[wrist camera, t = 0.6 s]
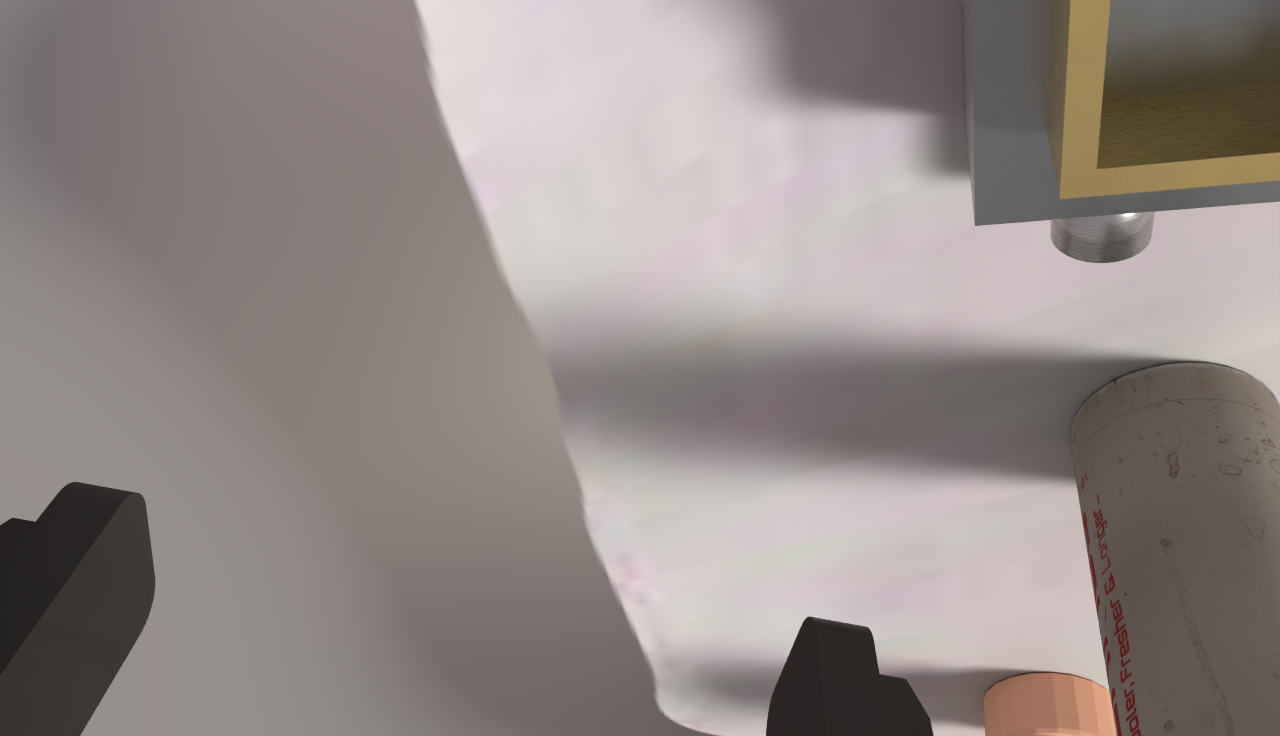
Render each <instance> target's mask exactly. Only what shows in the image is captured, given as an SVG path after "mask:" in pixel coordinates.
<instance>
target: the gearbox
mask: <svg viewBox="0 0 1280 736" xmlns="http://www.w3.org/2000/svg"><path fill="white" fill-rule="evenodd" d="M963 38H964V87H965V122H966V133H967V144H968V155H969V166H970V177H971V188H972V199H973V210H974V221H975V226H979V225H991V224H1004V223H1016V222H1029V221H1041V220H1051V240H1052V242H1053V244H1054V245H1055V247H1056V248H1057V249H1058V250H1059V251H1061V252H1062V253H1064V254H1065V255H1067V256H1069V257H1072V258H1074V259H1077V260H1081V261H1086V262H1093V263H1109V262H1116V261H1121V260H1125V259H1128V258H1131V257H1133V256H1135V255H1137V254H1139V253H1140V252H1142V251H1143V250H1144V249H1145V248H1146V247H1147V246H1148V244H1149V243H1150V241H1151V238H1152V230H1153V223H1154V215H1155V211H1166V210H1178V209H1191V208H1203V207H1216V206H1228V205H1241V204H1253V203H1266V202H1278V201H1280V0H963Z"/></svg>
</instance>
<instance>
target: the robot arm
mask: <svg viewBox="0 0 1280 736" xmlns="http://www.w3.org/2000/svg"><path fill="white" fill-rule="evenodd" d="M154 591H155V575H154V567H153V558H152V550H151V542H150V534H149V526H148V519H147V510H146V504H145V500H144V498H143V496H142V495H141V494H139V493H135V492H129V491H123V490H118V489H113V488H107V487H102V486H96V485H90V484H85V483H79V482H72V483H69V484H68V485H66V486H65V487H64V488H62V490H61V491H60V492H59V493H58V494H57V495H56V497H55V498H54V499H53V500H52V502H51V503H50V504H49V505H48V507H47V508H46V509H45V510H44V512H43V513H42V514H41V515H40V517H39V518H38V519H37V521H36V522H33V521H28V520H22V519H17V518H11V519H9V520H8V521H6V522H5V523H3V524H2V525H0V736H80V735H81V733H82V732H83V730H84V728H85V726H86V725H87V723H88V721H89V720H90V718H91V716H92V715H93V713H94V711H95V710H96V708H97V706H98V705H99V703H100V701H101V700H102V698H103V696H104V694H105V693H106V691H107V689H108V688H109V686H110V684H111V683H112V681H113V679H114V678H115V676H116V674H117V673H118V671H119V669H120V668H121V666H122V664H123V662H124V661H125V659H126V657H127V656H128V654H129V652H130V650H131V649H132V647H133V646H134V644H135V642H136V640H137V639H138V637H139V635H140V633H141V632H142V630H143V628H144V626H145V624H146V621H147V619H148V616H149V613H150V610H151V606H152V603H153V598H154ZM766 736H933V731H932V726H931V721H930V718H929V716H928V715H927V713H926V711H925V710H924V708H923V706H922V705H921V703H920V702H919V700H918V698H917V697H916V695H915V693H914V692H913V690H912V688H911V687H910V685H909V683H908V682H907V680H906V679H902V678H897V677H891V676H885V675H880V674H879V670H878V663H877V657H876V651H875V645H874V639H873V636H872V633H871V631H870V629H869V628H868V627H865V626H859V625H853V624H848V623H842V622H837V621H831V620H826V619H820V618H815V617H807V618H806V619H805V620H804V622H803V624H802V626H801V628H800V630H799V633H798V635H797V637H796V640H795V642H794V644H793V647H792V649H791V651H790V654H789V656H788V658H787V661H786V663H785V665H784V668H783V670H782V673H781V675H780V677H779V680H778V682H777V684H776V687H775V689H774V692H773V695H772V698H771V702H770V707H769V712H768V719H767V730H766Z"/></svg>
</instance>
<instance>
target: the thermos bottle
mask: <svg viewBox="0 0 1280 736" xmlns="http://www.w3.org/2000/svg"><path fill="white" fill-rule="evenodd" d="M1070 445H1071V451H1072V458H1073V464H1074V470H1075V477H1076V483H1077V489H1078V496H1079V502H1080V508H1081V514H1082V521H1083V527H1084V533H1085V540H1086V546H1087V552H1088V558H1089V565H1090V571H1091V577H1092V584H1093V590H1094V596H1095V603H1096V609H1097V615H1098V621H1099V627H1100V634H1101V640H1102V646H1103V652H1104V659H1105V665H1106V671H1107V677H1108V684H1109V690H1110V697H1111V703H1112V709H1113V716H1114V722H1115V728H1116V735H1117V736H1280V405H1279V403H1278V401H1277V399H1276V397H1275V395H1274V394H1273V393H1272V392H1271V391H1270V390H1269V389H1268V388H1267V387H1266V386H1265V385H1264V384H1263V383H1262V382H1260V381H1259V380H1257V379H1256V378H1254V377H1252V376H1251V375H1249V374H1247V373H1244V372H1242V371H1239V370H1236V369H1233V368H1231V367H1226V366H1221V365H1216V364H1210V363H1192V362H1187V363H1174V364H1165V365H1160V366H1155V367H1149V368H1145V369H1142V370H1139V371H1136V372H1133V373H1130V374H1127V375H1125V376H1123V377H1121V378H1118V379H1116V380H1114V381H1112V382H1110V383H1108V384H1107V385H1105V386H1104V387H1103V388H1101V389H1100V390H1098V391H1097V392H1095V393H1094V394H1093V395H1092V396H1091V397H1090V398H1089V399H1088V400H1087V401H1086V402H1085V403H1084V404H1083V405H1082V406H1081V408H1080V409H1079V411H1078V412H1077V414H1076V416H1075V417H1074V420H1073V423H1072V426H1071V430H1070Z"/></svg>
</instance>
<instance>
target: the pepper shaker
mask: <svg viewBox="0 0 1280 736" xmlns="http://www.w3.org/2000/svg"><path fill="white" fill-rule="evenodd" d="M983 706H984V721H985V736H1117V735H1116V728H1115V722H1114V716H1113V709H1112V703H1111V697H1110V693H1109V692H1108V690H1107V689H1106V688H1104V687H1102V686H1100V685H1098V684H1096V683H1095V682H1093V681H1090V680H1087V679H1083V678H1080V677H1077V676H1073V675H1065V674H1057V673H1030V674H1025V675H1020V676H1015V677H1010V678H1008V679H1006V680H1003V681H1001V682H998V683H996V684H995V685H994V686H993V687H991V688H990V689H989V690H988V691H987V692H986V694H985V697H984V700H983Z"/></svg>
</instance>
